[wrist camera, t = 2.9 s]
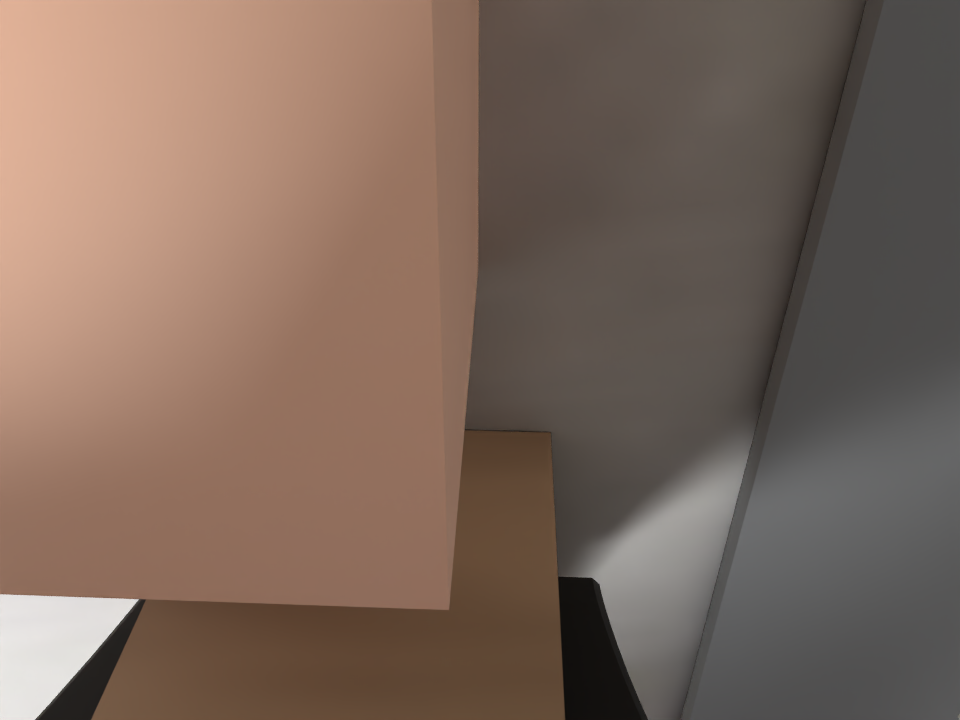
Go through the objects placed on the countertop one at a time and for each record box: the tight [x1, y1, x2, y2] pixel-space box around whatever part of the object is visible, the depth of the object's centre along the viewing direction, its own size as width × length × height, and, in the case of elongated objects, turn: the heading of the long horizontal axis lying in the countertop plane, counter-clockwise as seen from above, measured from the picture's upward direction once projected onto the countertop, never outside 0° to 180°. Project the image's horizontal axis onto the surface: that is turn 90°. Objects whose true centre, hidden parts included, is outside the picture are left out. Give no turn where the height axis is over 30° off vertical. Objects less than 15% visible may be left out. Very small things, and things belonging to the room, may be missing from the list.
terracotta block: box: [0, 0, 479, 610], centre depth 7 cm, size 4×4×5 cm
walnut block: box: [91, 430, 565, 720], centre depth 10 cm, size 4×4×5 cm
